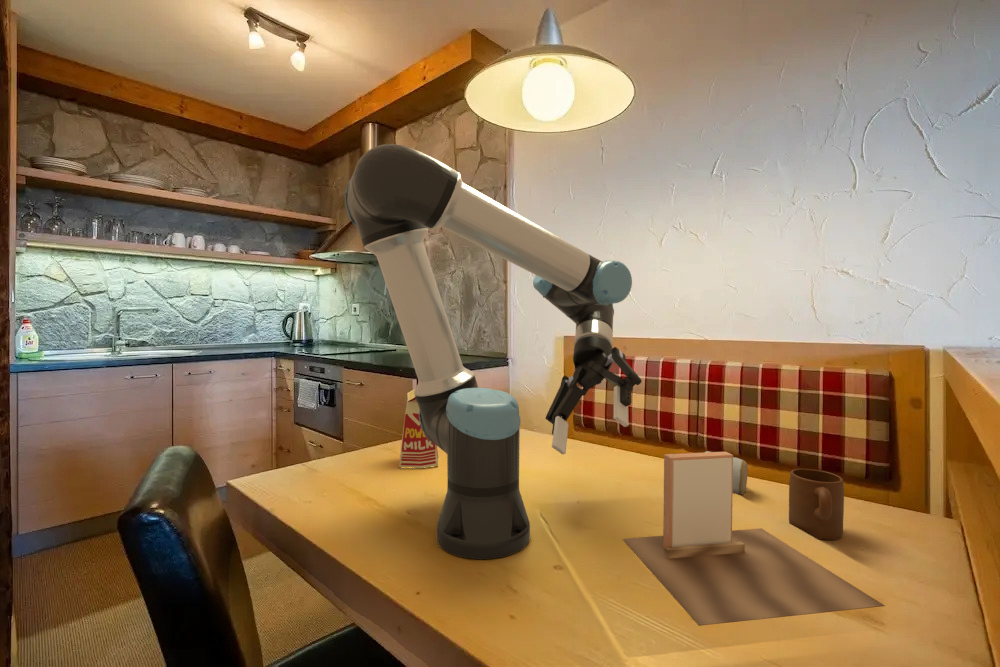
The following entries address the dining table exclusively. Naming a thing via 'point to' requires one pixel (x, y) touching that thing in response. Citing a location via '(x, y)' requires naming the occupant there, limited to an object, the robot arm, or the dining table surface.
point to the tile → (697, 499)
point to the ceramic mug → (739, 475)
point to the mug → (816, 503)
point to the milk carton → (416, 439)
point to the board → (746, 579)
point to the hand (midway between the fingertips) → (588, 437)
